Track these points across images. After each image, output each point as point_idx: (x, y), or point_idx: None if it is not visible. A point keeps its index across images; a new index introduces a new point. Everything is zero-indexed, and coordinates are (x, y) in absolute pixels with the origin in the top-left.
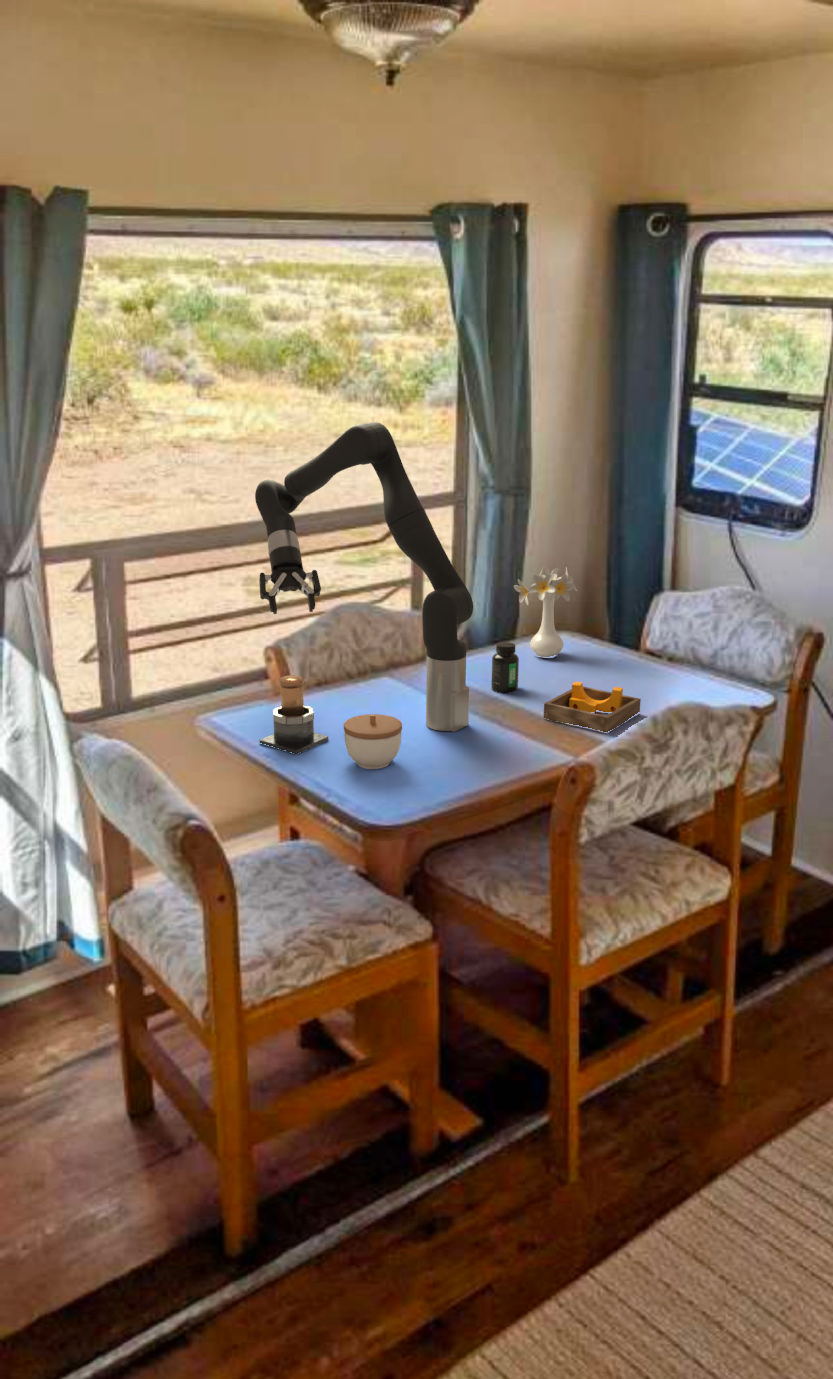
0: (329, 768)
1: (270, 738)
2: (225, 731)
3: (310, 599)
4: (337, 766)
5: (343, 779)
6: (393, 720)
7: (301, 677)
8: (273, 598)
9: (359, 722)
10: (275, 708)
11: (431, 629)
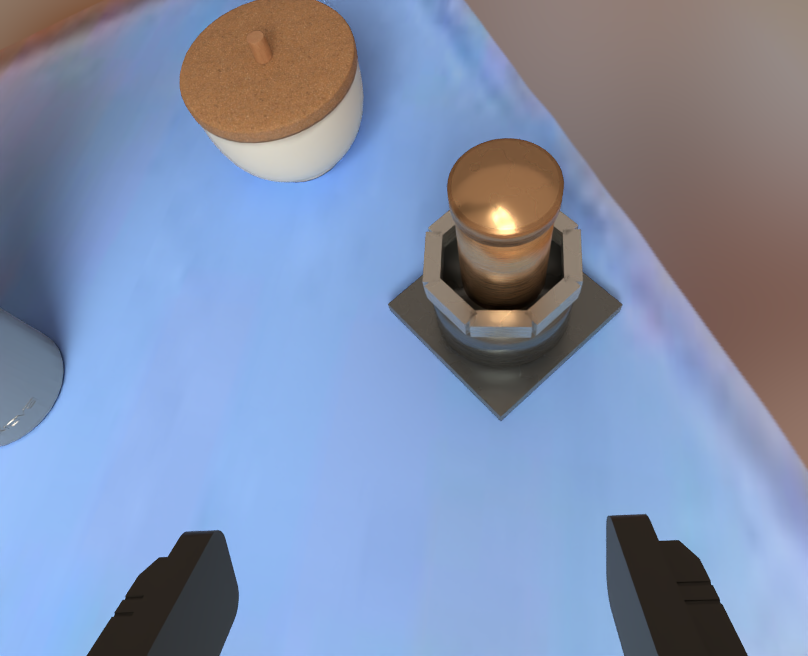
0: (421, 124)
1: (583, 311)
2: (764, 454)
3: (157, 603)
4: (398, 134)
5: (397, 65)
6: (198, 72)
7: (455, 194)
8: (684, 637)
9: (302, 62)
10: (572, 291)
11: None
